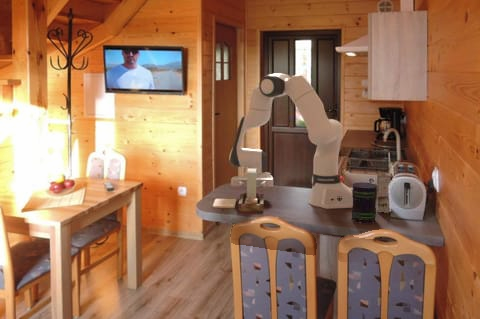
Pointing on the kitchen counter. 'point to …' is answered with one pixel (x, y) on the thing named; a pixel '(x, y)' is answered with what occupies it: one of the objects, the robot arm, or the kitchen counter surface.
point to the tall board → (251, 183)
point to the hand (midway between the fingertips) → (251, 185)
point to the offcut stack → (251, 201)
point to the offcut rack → (251, 205)
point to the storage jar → (364, 202)
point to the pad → (224, 203)
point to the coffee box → (383, 192)
